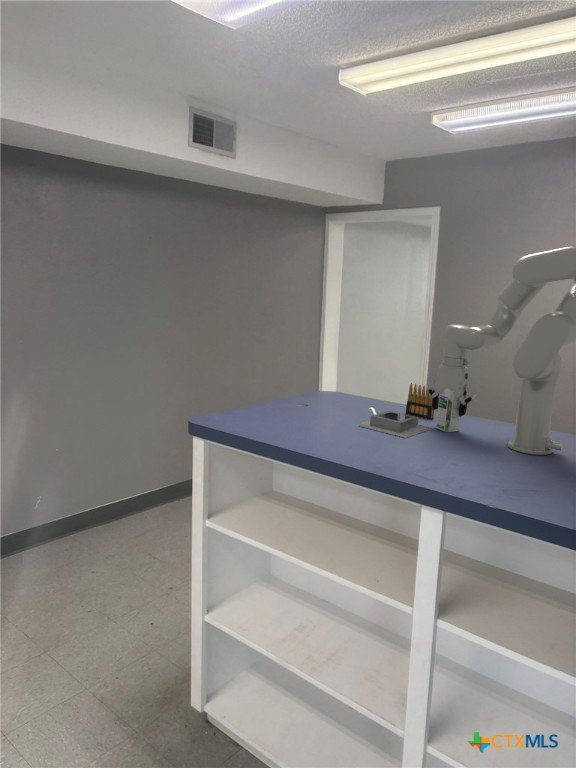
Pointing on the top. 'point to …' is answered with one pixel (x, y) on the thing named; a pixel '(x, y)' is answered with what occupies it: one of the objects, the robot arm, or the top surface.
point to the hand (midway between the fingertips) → (448, 412)
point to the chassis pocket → (394, 424)
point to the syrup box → (448, 412)
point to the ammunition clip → (419, 403)
